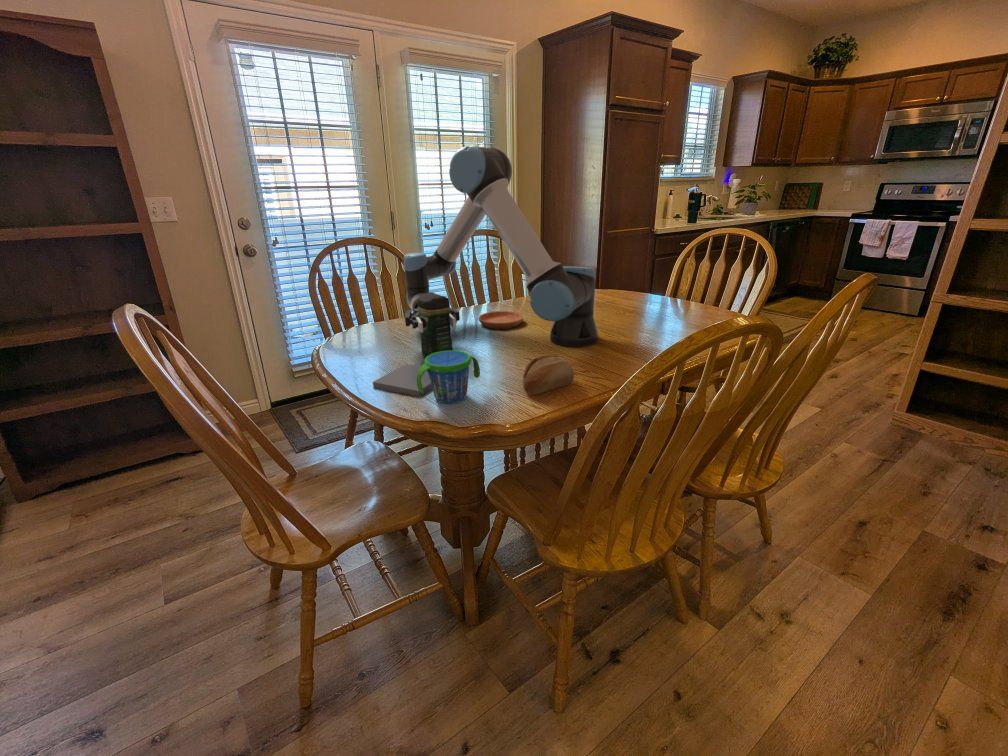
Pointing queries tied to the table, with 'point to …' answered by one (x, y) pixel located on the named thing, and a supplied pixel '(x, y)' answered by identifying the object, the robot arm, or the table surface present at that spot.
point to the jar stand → (404, 380)
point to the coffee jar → (434, 323)
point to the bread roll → (546, 374)
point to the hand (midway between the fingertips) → (438, 325)
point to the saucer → (501, 319)
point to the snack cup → (448, 374)
